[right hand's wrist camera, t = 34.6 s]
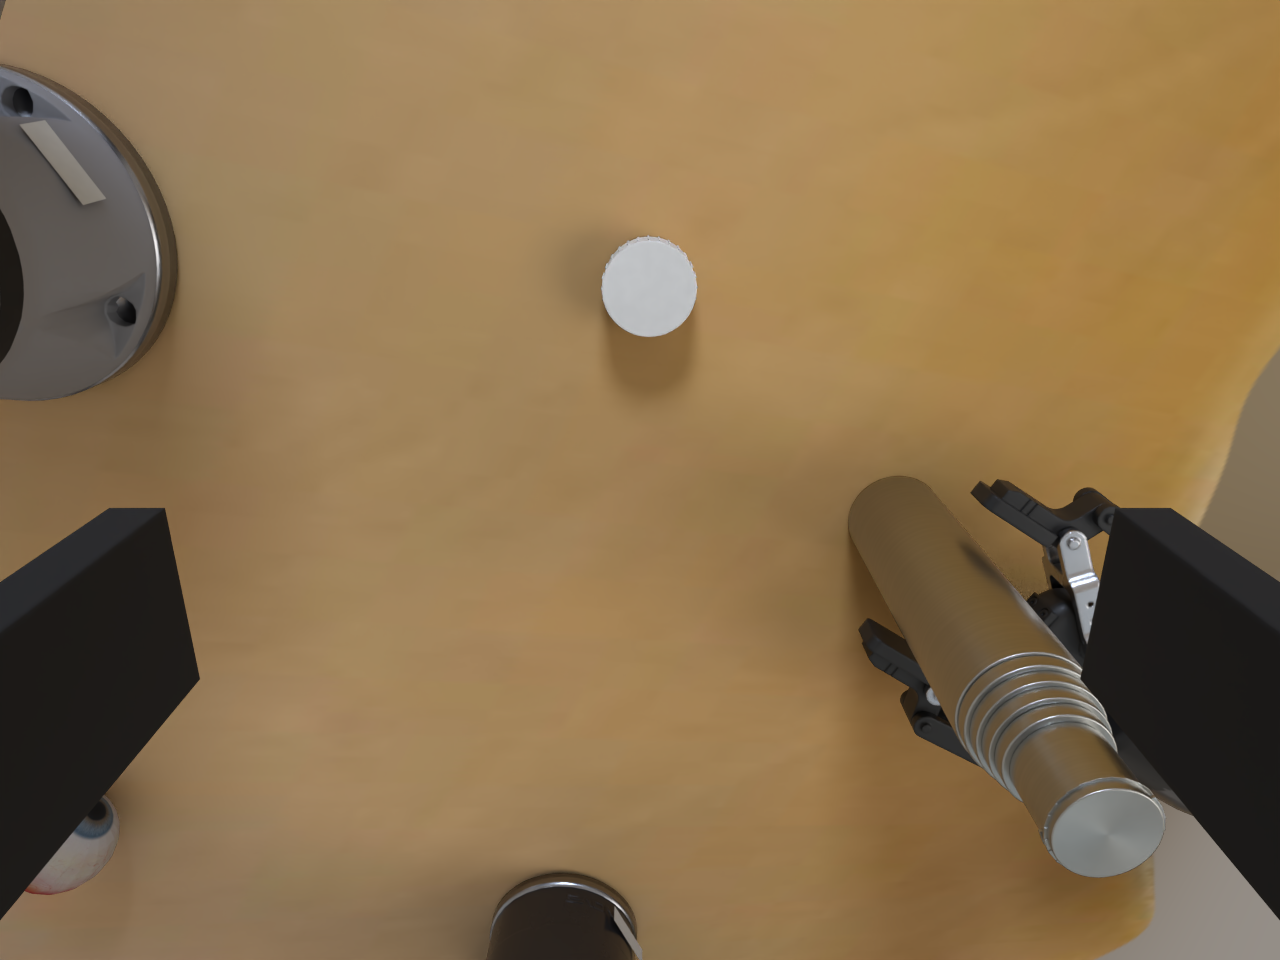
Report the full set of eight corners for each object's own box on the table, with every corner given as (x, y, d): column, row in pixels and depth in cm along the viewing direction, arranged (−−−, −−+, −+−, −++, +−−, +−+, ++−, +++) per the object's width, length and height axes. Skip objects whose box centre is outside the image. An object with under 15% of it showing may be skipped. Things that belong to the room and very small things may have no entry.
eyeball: (163, 806, 54) (107, 882, 48) (96, 856, 56) (34, 935, 50) (86, 742, 52) (19, 813, 47) (19, 794, 54) (-54, 870, 48)
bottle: (881, 577, 49) (1074, 926, 27) (829, 512, 47) (989, 824, 25) (958, 525, 48) (1225, 845, 26) (907, 457, 46) (1144, 734, 24)
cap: (677, 221, 42) (679, 225, 40) (707, 310, 44) (710, 318, 41) (589, 255, 43) (586, 260, 41) (622, 341, 44) (621, 351, 42)
